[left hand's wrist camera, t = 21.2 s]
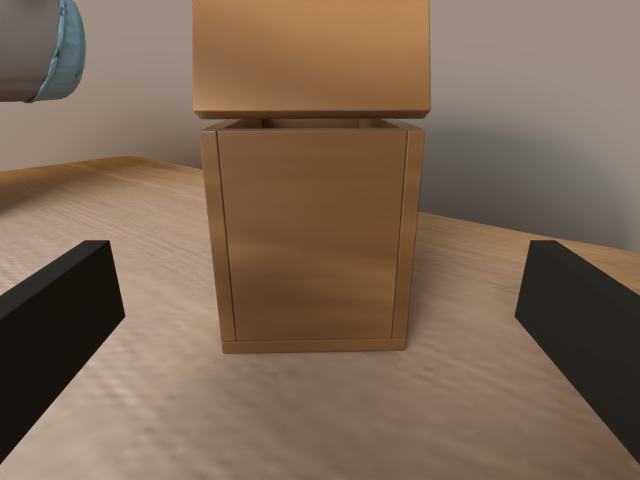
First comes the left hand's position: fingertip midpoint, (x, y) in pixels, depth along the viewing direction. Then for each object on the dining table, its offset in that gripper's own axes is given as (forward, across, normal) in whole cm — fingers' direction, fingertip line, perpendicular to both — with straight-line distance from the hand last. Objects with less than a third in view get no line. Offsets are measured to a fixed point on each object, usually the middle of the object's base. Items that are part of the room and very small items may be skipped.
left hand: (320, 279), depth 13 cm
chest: (+13, 0, -6) cm, 15 cm away
